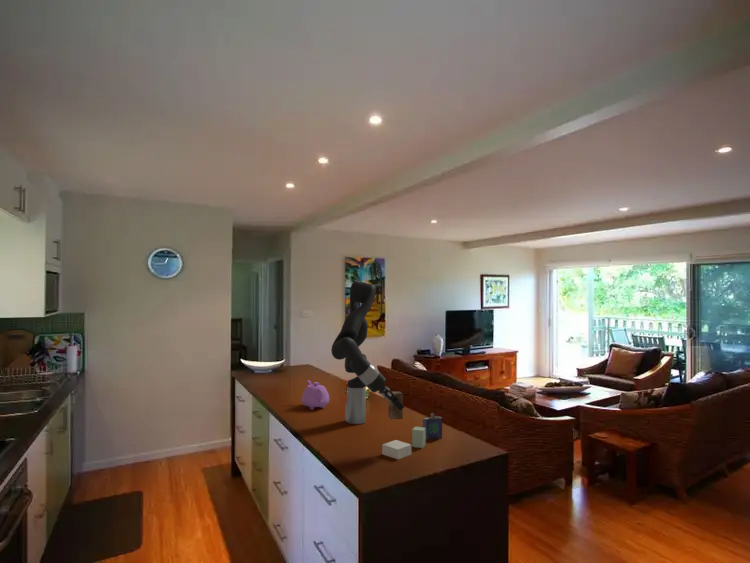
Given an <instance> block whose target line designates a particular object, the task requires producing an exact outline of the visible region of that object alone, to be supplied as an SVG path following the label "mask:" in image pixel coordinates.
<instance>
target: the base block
mask: <svg viewBox="0 0 750 563" xmlns="http://www.w3.org/2000/svg"><path fill="white" fill-rule="evenodd" d="M381 452H382V455H384V456H387V457H389V458H393V459H395V460H400V459H401V460H402V458H403V459H404V458H406V457H409V456H411V455H412V443H411V444H410V443H408V442H404V441H400V440H398V439H395V440H392V441H389V442H386V443H383V444H382V450H381Z"/></svg>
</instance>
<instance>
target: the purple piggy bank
mask: <svg viewBox="0 0 750 563" xmlns="http://www.w3.org/2000/svg"><path fill="white" fill-rule="evenodd" d="M307 383H308V384H307V386H306V388H305V389H304V391H303V393H302V396H301V403H302V404H303V405H304V406H308V407H307V408H309V409H314V410H315V408H320V409H321V408H324V407H325V408H326V406H328V404H329V402H330V395H329V392H328V391H327V390H328V389H327V388H326V387H325V386H324V385H322V384H320V382H318V381H317V382H315V381H314V382H313V383H312V381H311V380H310V379H307Z"/></svg>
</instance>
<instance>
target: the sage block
mask: <svg viewBox="0 0 750 563" xmlns="http://www.w3.org/2000/svg"><path fill="white" fill-rule="evenodd" d="M411 431H412V433H411V435H412V438H411V439H412V443H411V448H412V447H413V448H418V449H419V448H420V449H423V448H424V447H425V446H426V441H427V440H426V428H424V427H423V426H414V427H413V428H412V430H411Z"/></svg>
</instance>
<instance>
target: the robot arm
mask: <svg viewBox="0 0 750 563" xmlns="http://www.w3.org/2000/svg"><path fill="white" fill-rule="evenodd" d="M349 290H350V291H349V314H348V315H347V316H346V318H345V320H343V321H344V322H343V324H342V326H341V330H340V332H339V333H338V334H337V336H336V338H335V340H334V341H333V343H332V345H331V349H330V351H331V355H332V357H333V358H334V359H336V360H344V370H345V371H346V373H349V374H355V375H356V376H355V377H353V378H350V379H349V380H348V381H347V385H346V386H347V388H346V390H347V391H346V401H345V402H344V404H345V407H344V408H345V409H344V421H345V422H346V423H347V424H349V425H361V424H364V423H366V410H367V409H366V405H367V404H366V399H367V398H366V397H367V395H366V392H367V390H366V389H367V388H368V390H370V392H371V393H376V392H378V393H379V394H380V395H381V396H382V397H383V398H384V399H385V400H387V401H388V402H389V401H391V402H392V404H394V405H395V406H396V407H397V408H398V409H399V410H402V409H403V410H404V408H405V406H404V404H403V405H402V404H401V403H400V402H399V401H398V398H397V397H396V396H395V395H394V393H393V392H394V391H392V390H391V388H390V387H388V385H385V384H386V381H387V380H386V377H384V375H383V374H382V373H381V372H380V371H379V370H378V369H377V368H376V367H375V365H373V364H372V363H371V362H370V361H369V360H368V358H367V355H366V354H364V353H363V352H362V351H361V349H360V348H359V347H360V346H361V345H362V344H363V343H364V342H365V340H366V338H367V337H368V330H369V328H368V327H369V325H368V321H367V319H366V317H367V314H368V312H369V310H370V309H371V307H372V305H373V303H374V300H375V297H376V294H377V293H376V290H377V288H376V285H375V284H372V283H367V282H363V281H359V280H358V281H357V280H355V281H353V282H352V283H351V286H350V289H349ZM359 303H360V304H361V305H359ZM394 398H395V400H394V401H393V399H394Z"/></svg>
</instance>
